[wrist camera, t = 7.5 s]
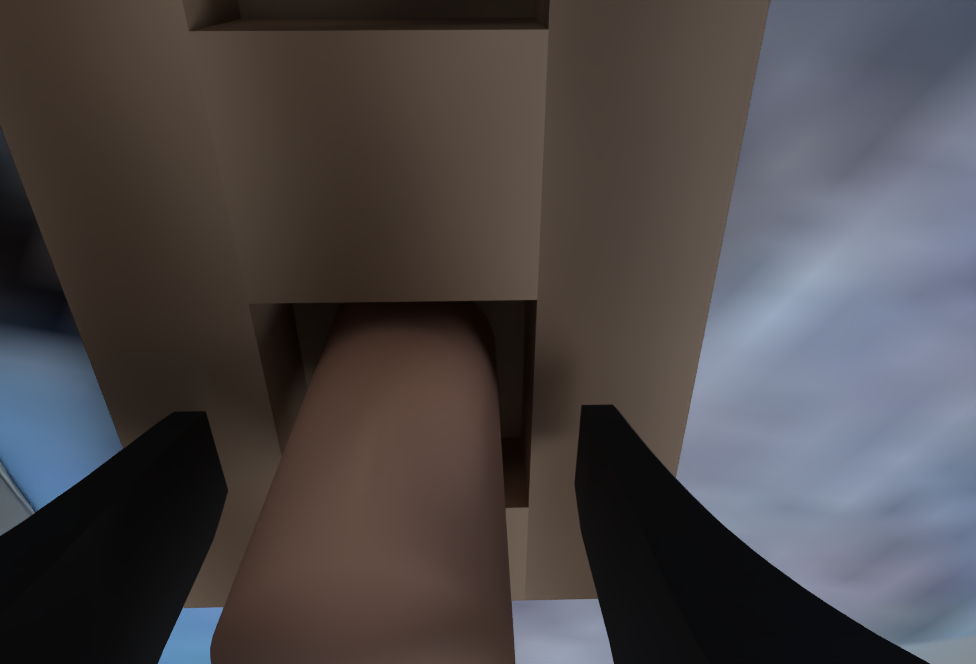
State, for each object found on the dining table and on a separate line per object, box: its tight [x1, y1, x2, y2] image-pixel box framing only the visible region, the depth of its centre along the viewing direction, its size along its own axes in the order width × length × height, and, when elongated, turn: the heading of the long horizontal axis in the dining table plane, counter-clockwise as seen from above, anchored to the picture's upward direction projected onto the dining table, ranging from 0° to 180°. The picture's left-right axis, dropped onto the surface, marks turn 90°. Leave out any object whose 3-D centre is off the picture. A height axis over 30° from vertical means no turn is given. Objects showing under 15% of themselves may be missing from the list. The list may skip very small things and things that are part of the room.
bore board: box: [0, 0, 770, 608], centre depth 12 cm, size 12×22×3 cm, turn 0°
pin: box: [210, 301, 515, 664], centre depth 12 cm, size 4×4×8 cm
